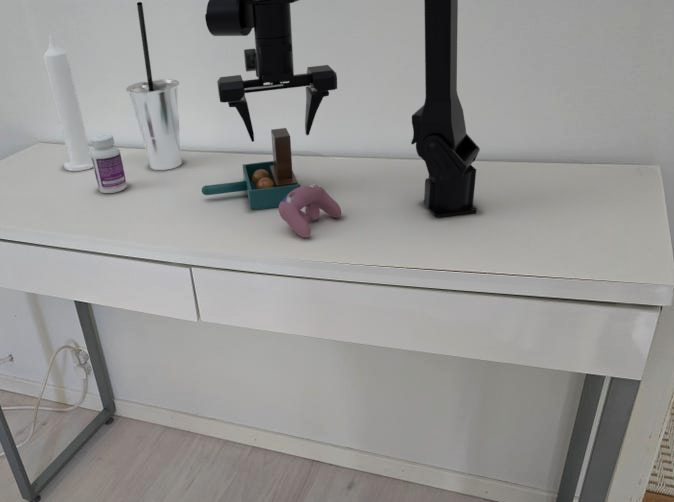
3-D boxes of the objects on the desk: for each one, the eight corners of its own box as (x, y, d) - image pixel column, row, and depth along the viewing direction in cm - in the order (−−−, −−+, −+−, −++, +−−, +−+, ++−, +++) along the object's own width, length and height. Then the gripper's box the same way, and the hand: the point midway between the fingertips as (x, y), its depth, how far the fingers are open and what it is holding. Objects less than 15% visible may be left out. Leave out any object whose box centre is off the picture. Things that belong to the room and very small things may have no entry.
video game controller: (324, 222, 108) (307, 181, 106) (345, 214, 104) (328, 172, 102) (288, 245, 102) (268, 202, 100) (309, 238, 98) (289, 193, 96)
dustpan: (289, 176, 122) (288, 158, 120) (301, 204, 111) (300, 185, 109) (201, 187, 122) (199, 169, 120) (204, 216, 110) (201, 196, 108)
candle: (63, 163, 141) (30, 35, 127) (96, 157, 143) (67, 29, 129) (66, 173, 136) (31, 39, 122) (100, 167, 137) (70, 34, 123)
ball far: (265, 186, 120) (272, 170, 118) (267, 193, 117) (274, 176, 116) (248, 181, 119) (255, 164, 117) (250, 187, 116) (257, 170, 115)
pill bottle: (133, 185, 126) (122, 134, 121) (113, 195, 122) (102, 142, 117) (112, 182, 129) (101, 131, 123) (93, 191, 125) (80, 140, 120)
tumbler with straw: (168, 178, 128) (139, 2, 111) (128, 170, 134) (94, 3, 117) (205, 161, 134) (182, -7, 118) (165, 154, 140) (138, -7, 124)
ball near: (276, 189, 116) (270, 172, 114) (278, 195, 113) (272, 178, 111) (258, 195, 116) (252, 178, 114) (260, 202, 113) (254, 185, 111)
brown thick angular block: (290, 178, 121) (287, 123, 115) (298, 198, 112) (295, 139, 107) (270, 180, 121) (266, 125, 115) (277, 201, 112) (273, 142, 107)
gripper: (323, 21, 109) (326, 118, 118) (211, 34, 109) (222, 131, 118) (336, 31, 100) (338, 136, 109) (213, 45, 100) (225, 149, 109)
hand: (280, 137), depth 111 cm, fingers open, 9 cm apart
